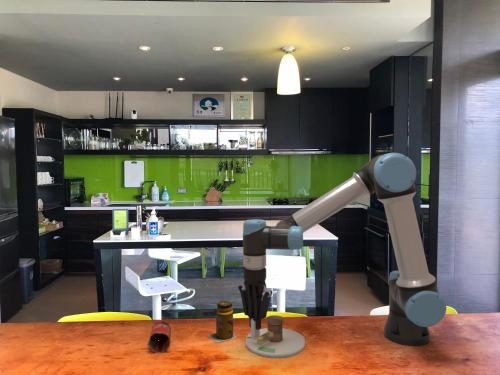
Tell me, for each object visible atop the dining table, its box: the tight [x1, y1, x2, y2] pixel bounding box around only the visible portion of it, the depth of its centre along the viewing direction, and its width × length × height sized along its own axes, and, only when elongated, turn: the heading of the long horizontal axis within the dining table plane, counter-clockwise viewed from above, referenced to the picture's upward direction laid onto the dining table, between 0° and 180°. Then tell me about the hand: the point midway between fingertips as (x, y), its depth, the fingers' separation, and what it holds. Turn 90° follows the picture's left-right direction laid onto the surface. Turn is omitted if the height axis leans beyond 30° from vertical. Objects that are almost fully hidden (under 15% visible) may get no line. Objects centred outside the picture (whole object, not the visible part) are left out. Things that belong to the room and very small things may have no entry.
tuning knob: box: [257, 314, 285, 345], centre depth 130 cm, size 12×6×7 cm, turn 144°
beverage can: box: [147, 320, 172, 354], centre depth 133 cm, size 7×12×7 cm, turn 9°
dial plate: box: [245, 327, 306, 359], centre depth 133 cm, size 20×20×2 cm
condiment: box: [206, 300, 238, 344], centre depth 139 cm, size 7×8×12 cm
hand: (255, 338), depth 129 cm, fingers closed
